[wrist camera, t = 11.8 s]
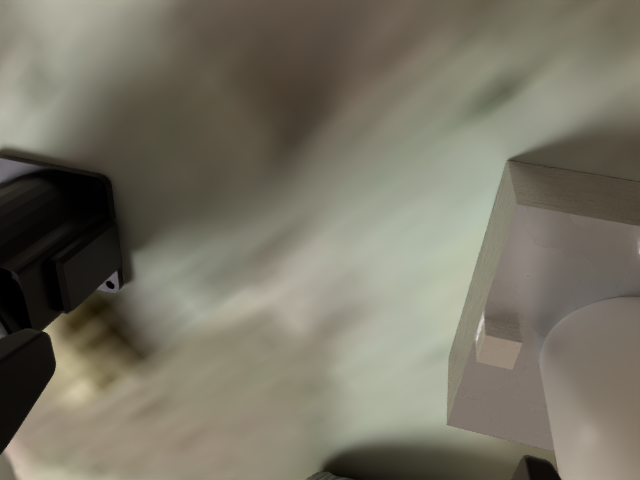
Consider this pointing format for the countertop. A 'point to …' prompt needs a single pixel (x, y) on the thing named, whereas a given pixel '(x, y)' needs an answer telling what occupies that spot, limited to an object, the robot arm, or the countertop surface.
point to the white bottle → (595, 390)
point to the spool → (326, 477)
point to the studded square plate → (537, 291)
